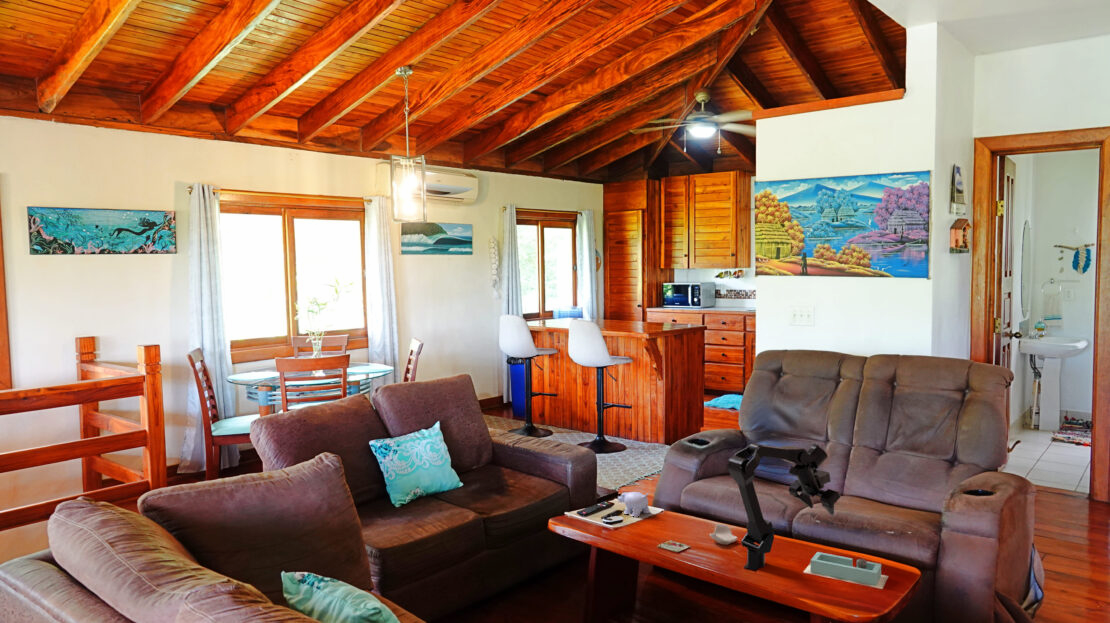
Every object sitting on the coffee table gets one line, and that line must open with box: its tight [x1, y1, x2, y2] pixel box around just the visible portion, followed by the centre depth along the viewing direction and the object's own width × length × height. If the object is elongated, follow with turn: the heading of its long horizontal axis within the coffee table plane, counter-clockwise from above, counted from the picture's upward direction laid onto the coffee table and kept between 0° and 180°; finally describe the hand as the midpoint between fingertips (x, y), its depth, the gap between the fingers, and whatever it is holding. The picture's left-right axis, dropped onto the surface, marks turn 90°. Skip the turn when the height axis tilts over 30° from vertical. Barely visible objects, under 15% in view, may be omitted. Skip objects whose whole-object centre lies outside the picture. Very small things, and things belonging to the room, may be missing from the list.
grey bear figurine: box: [617, 491, 651, 518], centre depth 308 cm, size 11×15×10 cm
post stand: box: [803, 558, 889, 590], centre depth 240 cm, size 24×12×7 cm, turn 57°
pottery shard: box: [709, 523, 738, 545], centre depth 273 cm, size 10×11×5 cm
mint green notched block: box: [810, 551, 882, 586], centre depth 240 cm, size 20×9×4 cm, turn 57°
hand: (822, 510), depth 262 cm, fingers open, 9 cm apart
